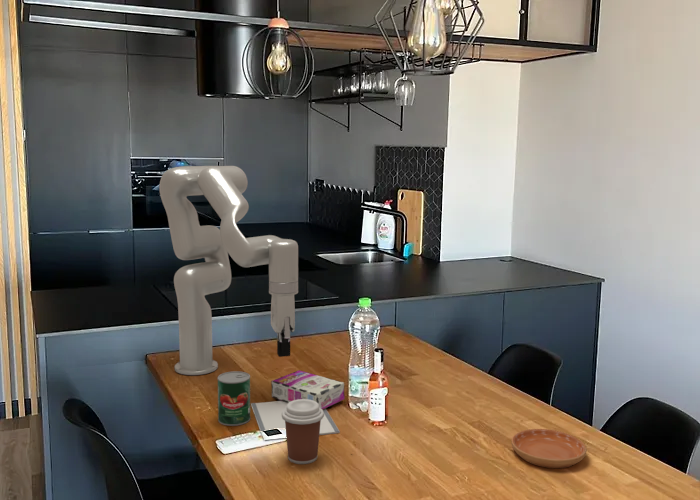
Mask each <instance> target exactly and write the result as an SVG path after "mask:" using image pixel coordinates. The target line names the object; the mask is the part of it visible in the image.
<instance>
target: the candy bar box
mask: <svg viewBox="0 0 700 500" xmlns="http://www.w3.org/2000/svg"><path fill="white" fill-rule="evenodd" d="M271 398H273V399H276V400H278V401H285V402H288V403H289V402H291V401H293V400H298V399H309V400H313V401H315V402H317V403H318V404H319V407H320V408H321V409H322V410H323V409H325V408H326V409H327V408H328V407H331V406H333V405H336V404H338V403H339V402H341V401H342V402H343V401H344V400H345V382H343V381H339V380H335V379H332V378H329V377H325V376H321V375H317V374H313V373H311V372H306V371H303V370H297V371H294V372H292V373H289V374H286V375H284V376H281V377H279V378H275V379H273V380H271Z"/></svg>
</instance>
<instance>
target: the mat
mask: <svg viewBox="0 0 700 500" xmlns="http://www.w3.org/2000/svg"><path fill="white" fill-rule="evenodd" d="M287 404H288V402H285V401H282V400H277V401H275V400H274V401H266V402H265V401H264V402H250V408H251V410H252V412H253V414H254V418H255V420H256V421H255V422H256V424H257V426H258V428H259V431H264V430H269V429H274V428H285V429H286V426H285V420H283V419H282V411H283V410H284V409H285V408H286V405H287ZM323 412H324V417H323V418H322V420H321V423H320V433H319V436H323V435H324V436H325V435H333V434H340V433H341V431H340V430H339V428H338V426H337V425H336V423H335V421H334V419H333V418H332V416H331V414H330V413H329V411H328V410H327V408H325V409H323Z"/></svg>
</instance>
